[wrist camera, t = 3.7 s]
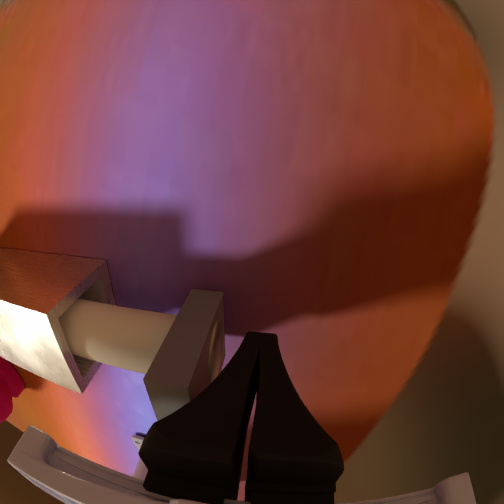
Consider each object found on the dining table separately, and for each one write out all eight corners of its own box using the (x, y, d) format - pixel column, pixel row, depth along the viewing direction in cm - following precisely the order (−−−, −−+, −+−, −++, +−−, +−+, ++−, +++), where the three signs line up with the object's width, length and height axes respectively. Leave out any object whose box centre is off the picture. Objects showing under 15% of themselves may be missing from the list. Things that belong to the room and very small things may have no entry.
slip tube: (223, 291, 13) (187, 388, 8) (225, 355, 15) (200, 447, 10) (-34, 254, 15) (-79, 285, 10) (-21, 295, 17) (-60, 329, 12)
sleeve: (106, 259, 15) (46, 314, 10) (123, 333, 17) (82, 393, 12) (-7, 246, 16) (-55, 277, 11) (10, 303, 18) (-29, 339, 13)
